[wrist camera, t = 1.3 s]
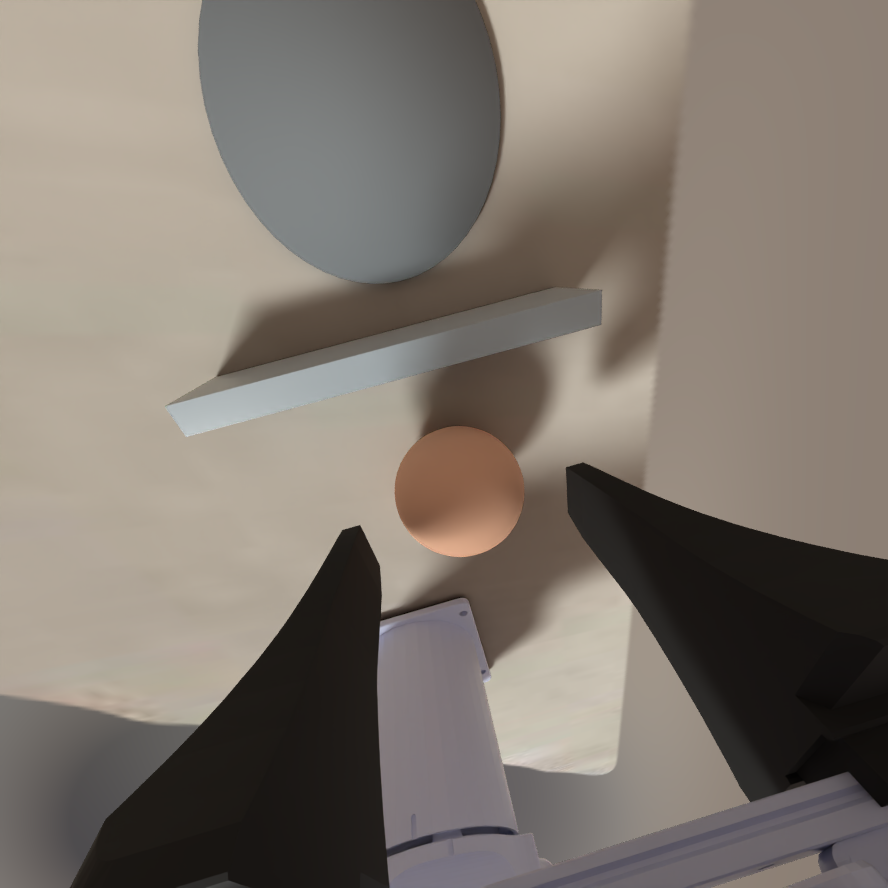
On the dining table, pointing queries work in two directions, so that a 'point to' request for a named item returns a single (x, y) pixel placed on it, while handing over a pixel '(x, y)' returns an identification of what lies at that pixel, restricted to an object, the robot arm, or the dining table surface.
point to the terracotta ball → (459, 491)
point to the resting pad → (355, 125)
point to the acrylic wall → (386, 357)
